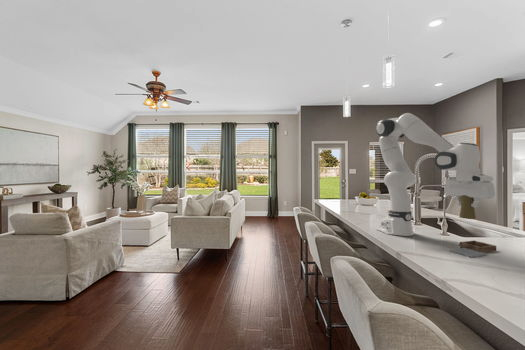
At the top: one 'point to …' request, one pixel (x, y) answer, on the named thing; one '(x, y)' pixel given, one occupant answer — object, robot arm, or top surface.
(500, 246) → the top surface
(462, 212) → the olive green figurine
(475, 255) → the rubber mat
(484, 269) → the top surface
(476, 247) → the walnut cradle
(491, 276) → the top surface
